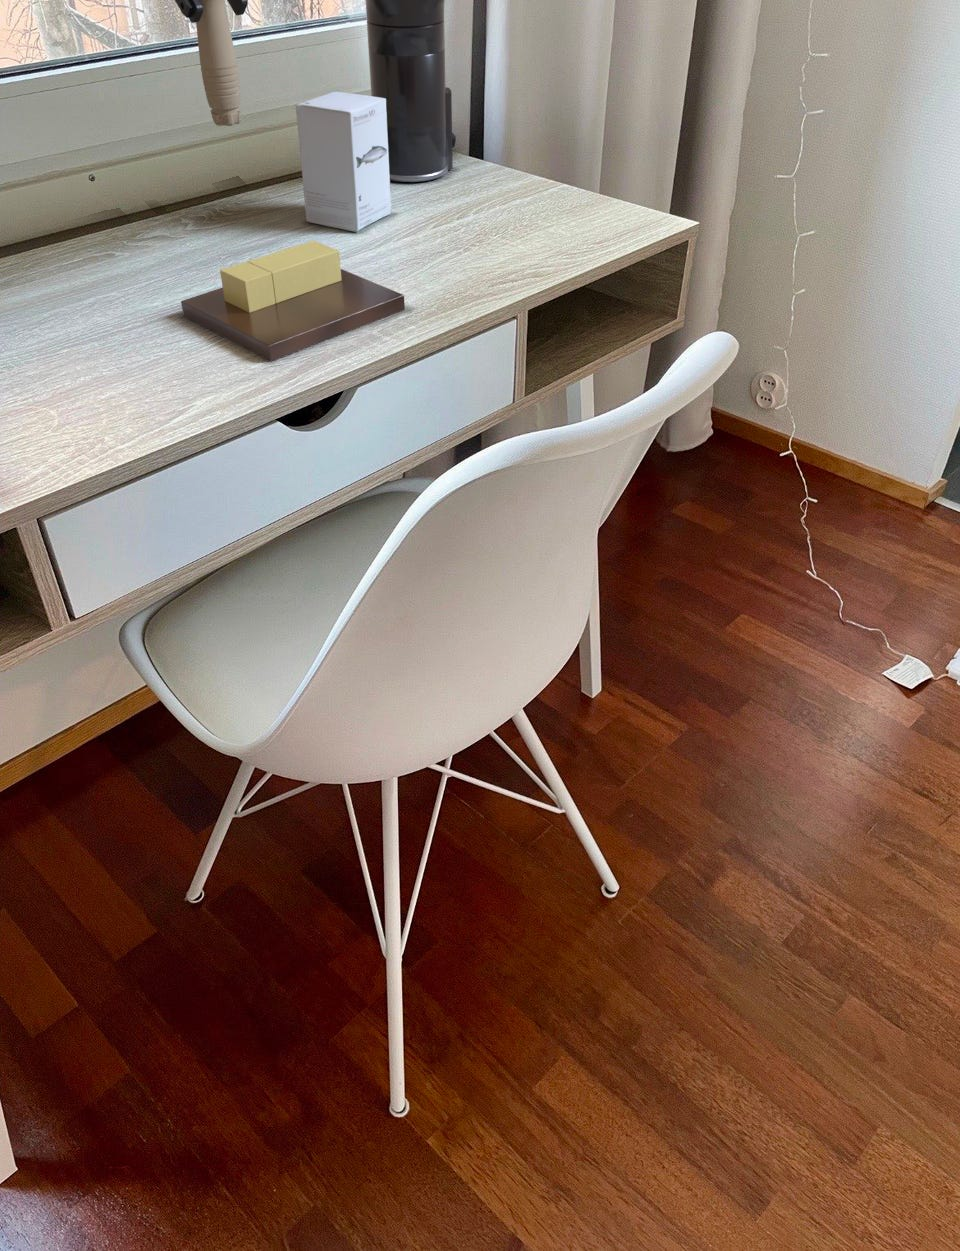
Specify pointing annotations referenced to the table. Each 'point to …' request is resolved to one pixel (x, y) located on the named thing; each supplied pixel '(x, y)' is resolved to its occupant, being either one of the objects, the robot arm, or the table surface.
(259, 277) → the butter pat
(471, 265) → the table surface
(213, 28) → the handle
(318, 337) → the board
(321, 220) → the white packaging box
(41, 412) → the table surface
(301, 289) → the butter stick
